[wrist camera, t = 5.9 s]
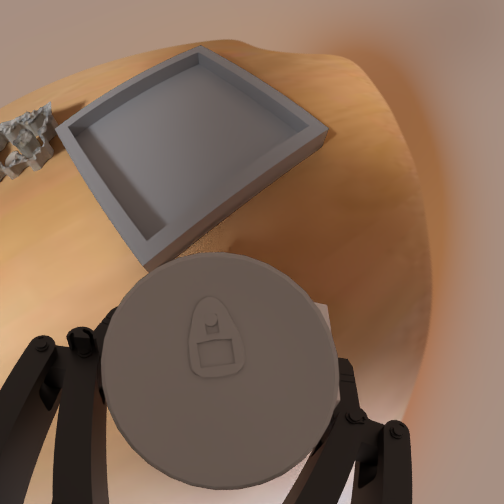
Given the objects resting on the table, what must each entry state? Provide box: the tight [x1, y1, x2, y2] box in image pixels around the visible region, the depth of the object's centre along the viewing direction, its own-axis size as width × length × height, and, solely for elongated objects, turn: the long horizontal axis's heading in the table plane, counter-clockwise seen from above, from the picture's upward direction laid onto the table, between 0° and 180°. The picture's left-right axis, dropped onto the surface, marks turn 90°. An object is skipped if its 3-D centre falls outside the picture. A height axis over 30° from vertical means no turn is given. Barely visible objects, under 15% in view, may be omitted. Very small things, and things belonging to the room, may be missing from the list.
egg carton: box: [0, 102, 59, 181], centre depth 22 cm, size 11×8×4 cm
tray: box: [55, 45, 329, 273], centre depth 23 cm, size 18×18×2 cm
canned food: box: [101, 252, 339, 490], centre depth 13 cm, size 8×8×11 cm
